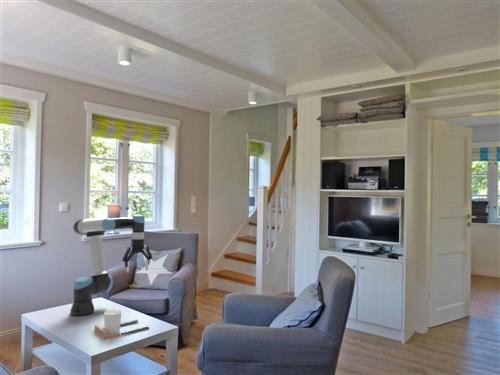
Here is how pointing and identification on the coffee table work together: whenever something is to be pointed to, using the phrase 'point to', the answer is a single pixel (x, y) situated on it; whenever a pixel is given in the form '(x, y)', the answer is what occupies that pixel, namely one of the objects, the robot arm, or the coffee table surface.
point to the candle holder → (112, 321)
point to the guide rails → (132, 329)
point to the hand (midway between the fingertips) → (137, 270)
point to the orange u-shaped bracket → (104, 332)
